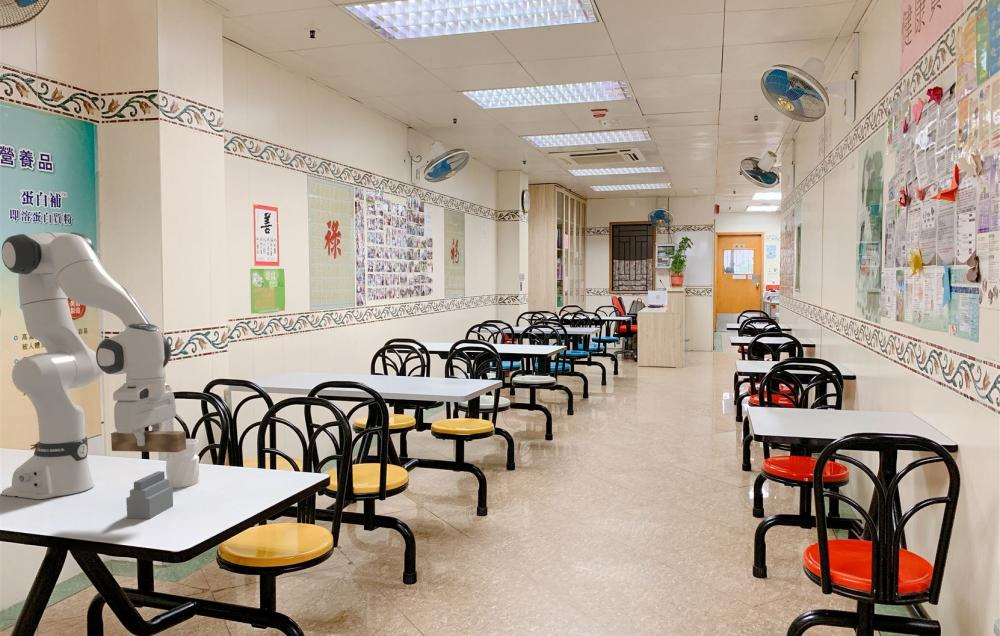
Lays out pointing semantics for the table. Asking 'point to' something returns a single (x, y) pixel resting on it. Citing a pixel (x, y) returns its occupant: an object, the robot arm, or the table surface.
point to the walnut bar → (150, 441)
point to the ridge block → (149, 496)
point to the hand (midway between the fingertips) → (148, 443)
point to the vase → (183, 466)
